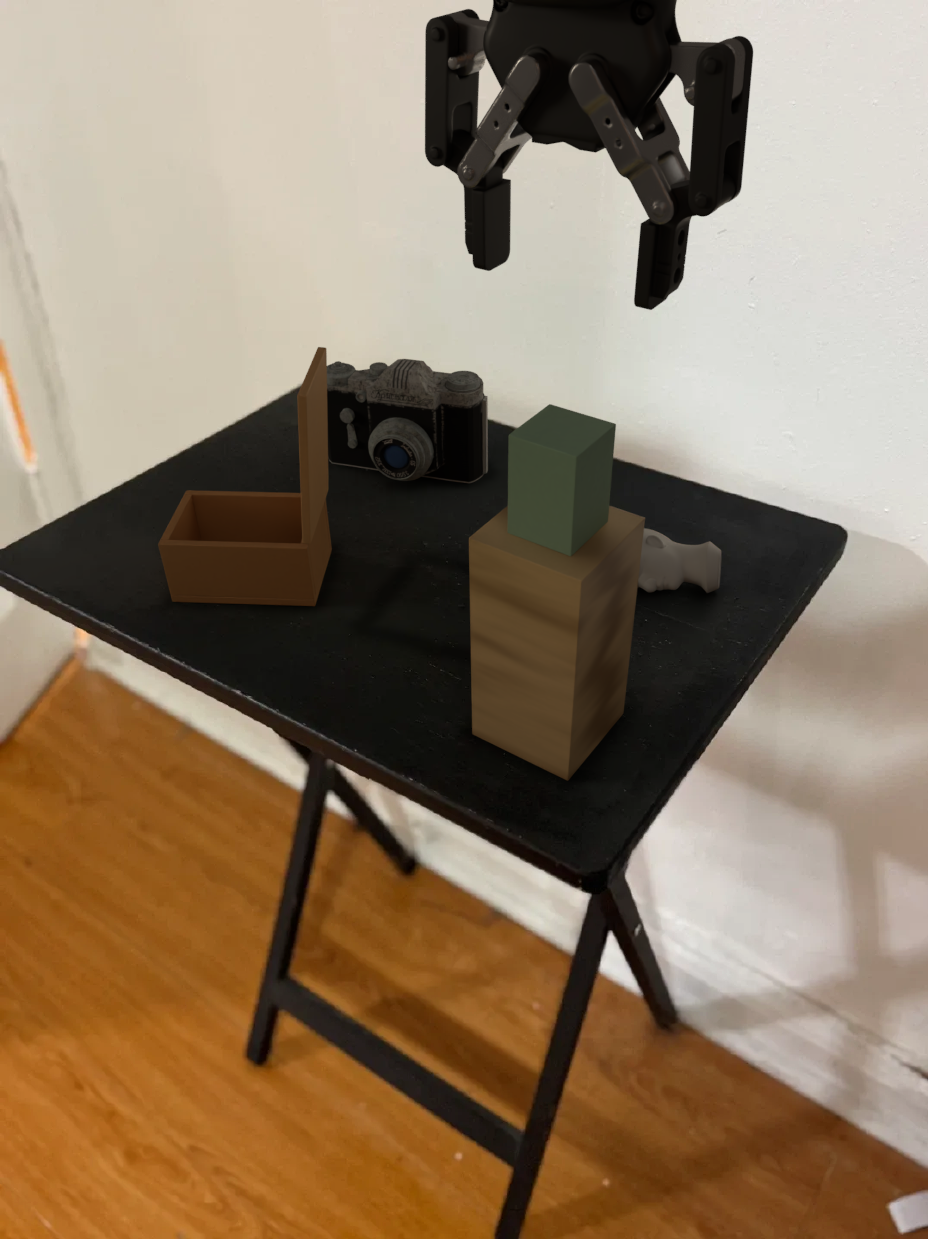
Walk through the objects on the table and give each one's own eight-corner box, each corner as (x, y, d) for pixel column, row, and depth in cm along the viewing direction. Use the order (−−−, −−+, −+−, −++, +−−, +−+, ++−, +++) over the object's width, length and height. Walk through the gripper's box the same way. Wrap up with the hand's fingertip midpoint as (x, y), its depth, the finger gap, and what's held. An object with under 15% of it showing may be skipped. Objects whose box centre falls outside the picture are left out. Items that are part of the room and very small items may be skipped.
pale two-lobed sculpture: (604, 595, 77) (631, 545, 80) (707, 625, 74) (731, 572, 76) (600, 559, 74) (627, 508, 76) (707, 589, 71) (732, 535, 73)
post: (568, 781, 62) (581, 581, 52) (471, 734, 65) (468, 537, 55) (623, 713, 66) (645, 517, 56) (531, 672, 69) (537, 480, 60)
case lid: (297, 395, 64) (306, 396, 64) (317, 346, 70) (326, 347, 70) (302, 543, 72) (310, 544, 72) (320, 488, 77) (328, 489, 77)
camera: (307, 480, 89) (292, 373, 83) (336, 442, 94) (325, 338, 88) (470, 504, 85) (469, 394, 79) (492, 464, 90) (492, 358, 84)
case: (172, 602, 76) (157, 544, 73) (198, 546, 81) (186, 490, 78) (315, 606, 75) (307, 548, 72) (331, 549, 81) (325, 493, 77)
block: (571, 557, 54) (576, 456, 50) (506, 533, 56) (508, 434, 52) (608, 521, 56) (616, 423, 52) (545, 500, 58) (549, 403, 54)
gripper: (370, -153, 38) (396, 279, 48) (730, -150, 32) (673, 348, 42) (484, -162, 43) (486, 233, 53) (818, -161, 36) (747, 289, 46)
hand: (568, 283), depth 47 cm, fingers open, 8 cm apart
